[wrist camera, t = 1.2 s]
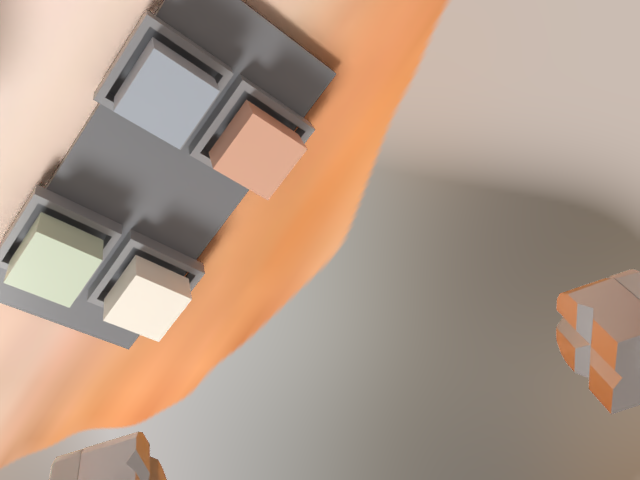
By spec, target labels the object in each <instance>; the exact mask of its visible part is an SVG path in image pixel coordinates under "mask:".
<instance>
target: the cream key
mask: <svg viewBox="0 0 640 480" xmlns="http://www.w3.org/2000/svg"><path fill="white" fill-rule="evenodd" d="M191 300H192V297H191V290H190V283H189V279H188V278H186V277H184V276H182V275H179V274H177V273H175V272H173V271H171V270H168V269H166V268H164V267H162V266H160V265H157V264H155V263H153V262H151V261H149V260H146V259H144V258H142V257H140V256H137V255H135V256H134V258H133V259H132V261H131V262H130V263H129V265H128V266H127V268H126V269H125V270H124V272H123V273H122V275H121V276H120V277H119V279H118V280H117V282H116V283H115V284H114V286H113V287H112V289H111V290H110V291H109V293H108V294H107V296H106V297H105V298H104V313H103V321H105V322H108V323H110V324H113V325H116V326H118V327H121V328H124V329H126V330H129V331H131V332H134V333H137V334H139V335H142V336H145V337H147V338H150V339H153V340H155V341H158V342H159V341H160V340H161V339H162V337H163V336H164V335H165V333H166V332H167V331H168V329H169V328H170V327H171V326H172V324H173V323H174V322H175V320H176V319H177V318H178V316H179V315H180V314H181V313H182V311H183V310H184V309H185V307H186V306H187V305H188V303H189V302H190V301H191Z"/></svg>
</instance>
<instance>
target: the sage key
mask: <svg viewBox="0 0 640 480" xmlns="http://www.w3.org/2000/svg"><path fill="white" fill-rule="evenodd" d="M103 244H104V240H102V239H100V238H98V237H96V236H93V235H91V234H89V233H87V232H85V231H82V230H80V229H78V228H76V227H74V226H71V225H69V224H67V223H65V222H63V221H60V220H58V219H56V218H54V217H51V216H49V215H47V214H45V213H43V212H41V213H40V214H39V216H38V217H37V219H36V220H35V222H34V224H33V225H32V227H31V228H30V230H29V231H28V233H27V235H26V236H25V238H24V239H23V241H22V242H21V244H20V246H19V247H18V249H17V250H16V252H15V253H14V255H13V256H12V258H11V260H10V261H9V265H8V268H7V272H6V275H5V279H4V283H5V284H8V285H10V286H13V287H16V288H18V289H21V290H24V291H26V292H29V293H31V294H34V295H37V296H39V297H42V298H45V299H47V300H50V301H53V302H55V303H58V304H60V305H63V306H66V307H68V308H70V306H71V305H72V304H73V302H74V301H75V299H76V298H77V296H78V295H79V293H80V292H81V291H82V289H83V288H84V286H85V285H86V283H87V282H88V281H89V279H90V278H91V276H92V275H93V273H94V272H95V270H96V269H97V268H98V266H99V265H100V263H101V262H102V260H103Z"/></svg>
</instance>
